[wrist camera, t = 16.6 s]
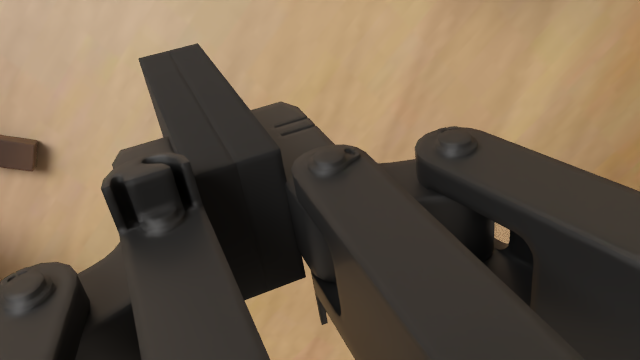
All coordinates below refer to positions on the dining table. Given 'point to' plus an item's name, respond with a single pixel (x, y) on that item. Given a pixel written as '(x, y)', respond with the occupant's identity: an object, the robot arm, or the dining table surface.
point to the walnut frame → (18, 153)
